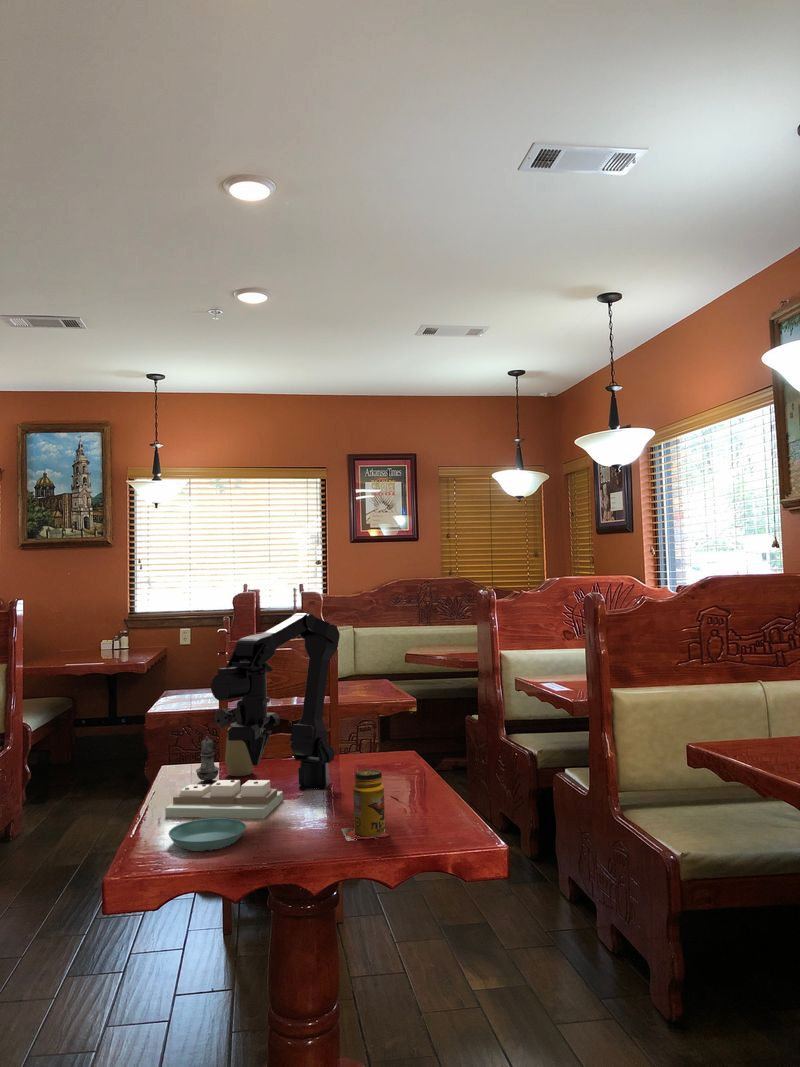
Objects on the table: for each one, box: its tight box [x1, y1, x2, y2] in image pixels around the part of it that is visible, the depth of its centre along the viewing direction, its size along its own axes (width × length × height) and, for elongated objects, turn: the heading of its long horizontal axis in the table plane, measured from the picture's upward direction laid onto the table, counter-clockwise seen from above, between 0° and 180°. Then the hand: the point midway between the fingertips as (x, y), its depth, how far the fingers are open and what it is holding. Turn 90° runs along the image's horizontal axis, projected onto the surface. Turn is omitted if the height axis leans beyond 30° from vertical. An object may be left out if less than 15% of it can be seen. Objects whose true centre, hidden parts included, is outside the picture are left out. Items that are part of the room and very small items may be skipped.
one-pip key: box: [240, 779, 271, 797], centre depth 178 cm, size 5×5×3 cm
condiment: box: [341, 768, 386, 842], centre depth 158 cm, size 7×8×12 cm
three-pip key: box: [179, 784, 211, 796], centre depth 179 cm, size 5×5×3 cm
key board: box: [164, 788, 284, 819], centre depth 178 cm, size 22×14×3 cm, turn 82°
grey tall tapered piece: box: [195, 735, 221, 785], centre depth 201 cm, size 6×6×12 cm
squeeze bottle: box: [224, 722, 255, 777], centre depth 210 cm, size 8×8×18 cm
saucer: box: [168, 818, 247, 852], centre depth 156 cm, size 15×15×3 cm
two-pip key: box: [211, 779, 241, 797], centre depth 178 cm, size 5×5×3 cm
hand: (255, 765), depth 178 cm, fingers closed
